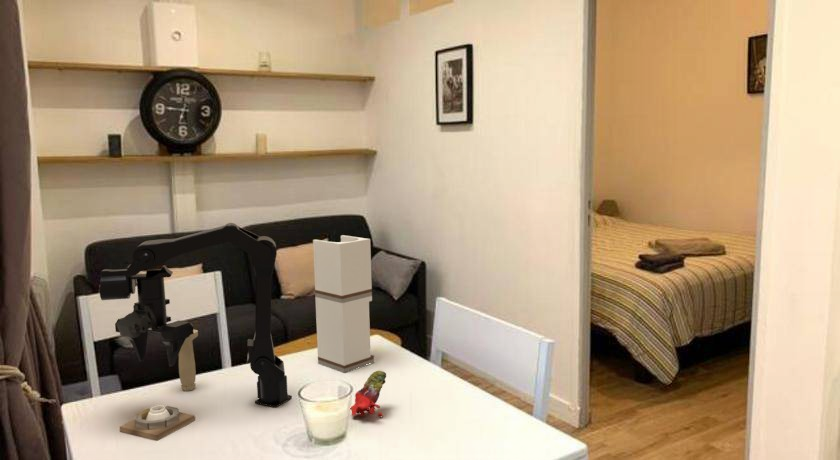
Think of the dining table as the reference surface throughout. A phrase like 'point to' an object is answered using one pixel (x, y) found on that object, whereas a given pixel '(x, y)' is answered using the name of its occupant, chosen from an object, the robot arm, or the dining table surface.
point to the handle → (187, 363)
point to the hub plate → (158, 431)
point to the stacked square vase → (343, 302)
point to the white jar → (157, 413)
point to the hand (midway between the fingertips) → (156, 363)
